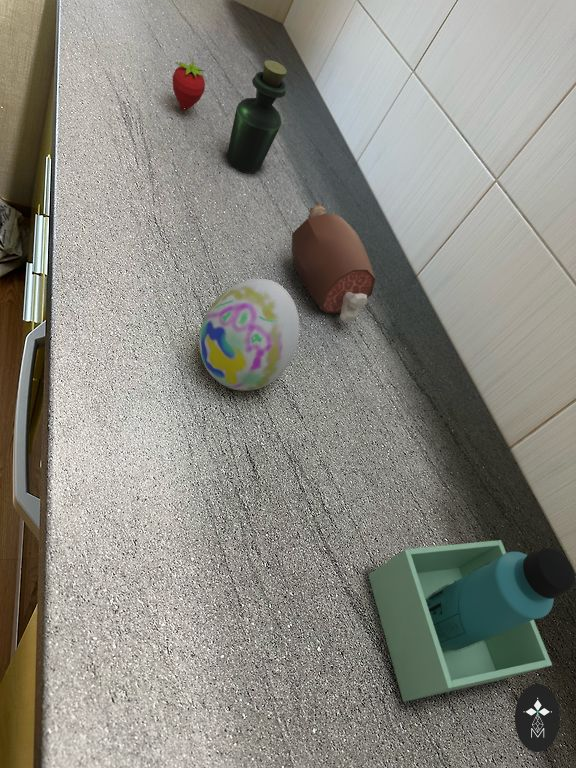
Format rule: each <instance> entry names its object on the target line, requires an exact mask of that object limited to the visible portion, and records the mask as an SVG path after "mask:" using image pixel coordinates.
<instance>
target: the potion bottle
mask: <svg viewBox="0 0 576 768" xmlns="http://www.w3.org/2000/svg"><path fill="white" fill-rule="evenodd" d="M287 72H288V71H287V69H286V67H285V66H284V65H282V64H281V63H279V62H277V61H275V60H271V59H269V60H267V59H266V60H265V61H264V63H263V70H262V71H258V72H257V73H256V74H255V75H254V76H253V78H252V80H251V83H252V86H253V87H254V88H255V89H256V91H255V93H256V94H255V97H246V98H243V99H242V100H241V101H240V102H238V104H237V106H236V108H235V114H234V119H233V123H232V128H231V133H230V137H229V143H228V147H227V148H228V149H227V153H226V158H227V162H228V163H229V164H230V166H231V167H233V168H235V169H236V170H237V171H239V172H242V173H247V174H253V173H255V174H256V173H257V172H258V171H260V170H261V168H262V166H263V164H264V161H265V160H266V157H267V155H268V153H269V151H270V149H271V147H272V145H273V143H274V141H275V139H276V136H277V135H278V132H279V131H280V129H281V126H282V116H281V114H280V112H279V110H277V108H276V106H274V103H275V102H276V100H277V99H282V98H283V97H285V96H286V92H287V86H286V83H285V82H284V81H283V79H284V78H285V76H286V74H287Z"/></svg>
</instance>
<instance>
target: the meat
mask: <svg viewBox="0 0 576 768" xmlns="http://www.w3.org/2000/svg"><path fill="white" fill-rule="evenodd" d="M326 211H327V210H326V209H325V208H324V207H323V206H321V205H320V204H318V205H315V206H313V207H311V208H310V209H309V212H308V218H306V219H305V220H304V221H303V222H302V223H301V224H300V225H299V226H298V227H297V228H296V229H295V230H294V231H293V232H292V233H291V254H292V260H293V266H294V269H295V271H296V273H297V275H298V278H299V279H300V281H301V283H302V285H303V286H304V288H305V289H306V291H307V292H308V294H309V295H310V296H311V298H312V299H313V301H314V302H315V303H316V305H317V306H318V308H319V309H320V310H322V311H323V312H325V313H326V314H339V319H340V320H341V321H342V322H344V323H346V324H348V323H350V322H353V321H356V320H357V317H358V314H359V310H360V309H362V308H363V307H365V306H366V305H367V304H368V298H370V297H371V296H372V294H373V291H374V286H375V281H376V277H375V273H374V271H373V266H372V264H371V261H370V259H369V256H368V254H367V251H366V249H365V245H364V244H363V243H362V240H361V238H360V236H359V235H358V233H357V231H356V230H354V229H353V227H352V226H351V225H350V224H349V223H347V221H346V220H344V219H343V218H342V217H341V216H340V215H339V214H333V213H332V214H331V213H326Z"/></svg>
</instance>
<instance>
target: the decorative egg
mask: <svg viewBox="0 0 576 768" xmlns="http://www.w3.org/2000/svg"><path fill="white" fill-rule="evenodd" d="M199 331H200V332H199V337H198V338H199V339H198V345H199V353H200V357H201V361H202V363H203V365H204V367H205V369H206V371H207V372H208V373H209V374H210V376H211V377H212V378H213V379H214V380H215V381H216V382H217V383H219V384H220V385H222V386H224V387H226V388H227V389H231V390H236V391H243V392H248V391H254V390H259V389H262V388H264V387H266V386H269V385H270V384H272V383H274V382H275V381H276V380H277V379H279V378H280V377H281V376H282V375H283V374H284V372H285V371H286V370H287V369H288V367H289V366H290V365H291V362H292V360H293V359H294V356H295V354H296V352H297V348H298V345H299V338H300V317H299V313H298V309H297V307H296V304H295V302H294V299H293V298H292V296H291V295H290V293H289V292H288V291H287V290H286V289H285V288H284V287H283V286H282V285H281V284H280V283H278V282H277V281H273V280H271V279H266V278H252V279H247V280H244V281H241V282H238V283H236V284H234V285H232V286H231V287H229V288H227V289H226V290H225V291H223V293H222V294H221V295H219V297H218V298H216V300H215V301H213V303H212V304H211V306H210V307H209V308H208V310H207V312H206V314H205V316H204V318H203V321H202V325H201V327H200V330H199Z"/></svg>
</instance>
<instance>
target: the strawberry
mask: <svg viewBox="0 0 576 768" xmlns="http://www.w3.org/2000/svg"><path fill="white" fill-rule="evenodd" d="M189 58H190V60H191V61H192V62H191V63H189V65H188V64H187V63H183V62H181V61H180V62H175V65H178V67H177V68H175V70H174V72H173V74H172V77H171V78H172V90H173V93H174V95H175V98H176V100H177V103H178V105H179V107H180V110H182V111H183V112H187V111H188V110H189V109H190V108H192V107H194V106H195V105H196V104H197V103H198V102H199V101H200V100H201V98H202V97H203V95H204V93H205V90H206V80H205V78H204V77H205V76H204V75H203V74H202V73H201V72H206V70H204V69H202V68H200V67H197V66H195V62H194V60H193V58H192V56H189ZM184 108H185V109H184Z"/></svg>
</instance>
